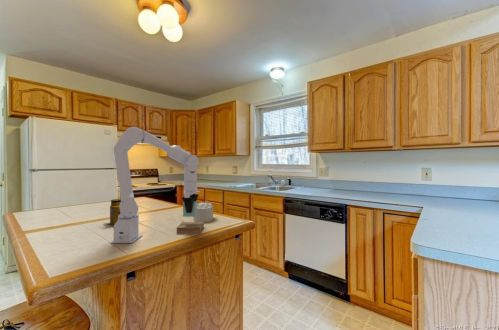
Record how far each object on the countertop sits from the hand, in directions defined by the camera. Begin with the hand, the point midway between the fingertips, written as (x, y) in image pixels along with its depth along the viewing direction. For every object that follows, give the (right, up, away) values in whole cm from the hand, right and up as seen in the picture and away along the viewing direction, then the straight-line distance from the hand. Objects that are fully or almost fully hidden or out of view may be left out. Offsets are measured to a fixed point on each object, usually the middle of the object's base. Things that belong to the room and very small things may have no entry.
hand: (190, 211), depth 107 cm
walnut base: (0, -9, 0) cm, 9 cm away
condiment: (-39, -8, +9) cm, 41 cm away
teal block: (0, -2, 0) cm, 2 cm away
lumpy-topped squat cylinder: (+2, -9, +20) cm, 22 cm away
